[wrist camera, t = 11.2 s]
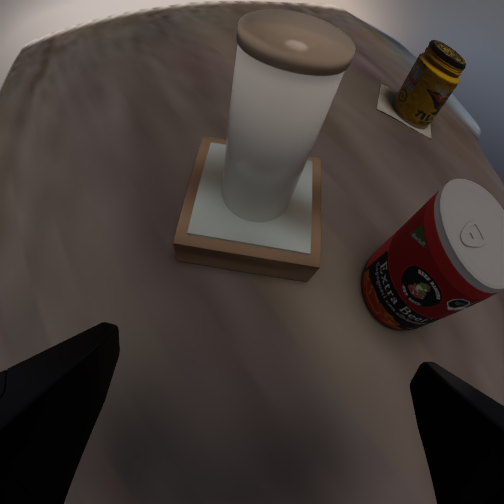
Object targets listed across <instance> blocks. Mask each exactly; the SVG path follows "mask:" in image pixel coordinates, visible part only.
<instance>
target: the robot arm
mask: <svg viewBox="0 0 504 504" xmlns="http://www.w3.org/2000/svg"><path fill="white" fill-rule="evenodd" d="M119 352H120V347H119V330H118V327H117V326H116V325H114V324H110V323H106V322H103V323H100V324H98V325H96V326H94V327H92V328H90V329H88V330H86V331H84V332H82V333H80V334H78V335H76V336H74V337H72V338H70V339H67V340H65V341H63V342H61V343H59V344H57V345H55V346H53V347H51V348H49V349H47V350H45V351H43V352H41V353H39V354H37V355H35V356H33V357H31V358H29V359H27V360H25V361H22V362H20V363H18V364H16V365H14V366H12V367H10V368H8V369H7V370H4V371H2V372H0V504H64V501H65V499H66V496H67V493H68V490H69V488H70V485H71V482H72V480H73V477H74V474H75V472H76V469H77V467H78V464H79V462H80V459H81V456H82V454H83V452H84V449H85V447H86V444H87V442H88V439H89V437H90V434H91V432H92V430H93V427H94V425H95V423H96V420H97V418H98V416H99V413H100V411H101V409H102V406H103V404H104V401H105V399H106V395H107V392H108V389H109V386H110V382H111V379H112V376H113V373H114V370H115V367H116V363H117V360H118V357H119ZM410 391H411V396H412V400H413V405H414V410H415V415H416V420H417V425H418V429H419V433H420V437H421V440H422V444H423V447H424V451H425V455H426V458H427V462H428V466H429V470H430V474H431V478H432V482H433V487H434V491H435V496H436V500H437V504H504V406H503V405H501V404H499V403H498V402H496V401H495V400H493V399H492V398H490V397H488V396H487V395H485V394H484V393H482V392H480V391H479V390H477V389H476V388H474V387H473V386H471V385H469V384H468V383H466V382H465V381H463V380H461V379H460V378H458V377H457V376H455V375H454V374H452V373H450V372H449V371H447V370H446V369H444V368H442V367H441V366H439V365H438V364H436V363H434V362H423V363H422V364H421V365H420V366H419V368H418V370H417V372H416V373H415V375H414V377H413V379H412V380H411V383H410Z"/></svg>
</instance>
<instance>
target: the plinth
mask: <svg viewBox="0 0 504 504" xmlns="http://www.w3.org/2000/svg"><path fill="white" fill-rule="evenodd" d="M225 150H226V140H223V139H217V138H210V137H203V139H202V142H201V145H200V148H199V152H198V155H197V158H196V162H195V165H194V168H193V172H192V175H191V179H190V182H189V186H188V189H187V193H186V196H185V200H184V203H183V207H182V211H181V215H180V218H179V222H178V226H177V230H176V234H175V238H174V242H173V245H174V250H175V255H176V260H177V261H182V262H188V263H194V264H199V265H205V266H211V267H217V268H223V269H229V270H235V271H241V272H247V273H254V274H260V275H266V276H272V277H279V278H285V279H292V280H298V281H305V282H307V281H308V280H309V279H310V278H311V277H312V276H313V275H314V274H315V272H316V271H317V270H318V269H319V268H320V245H321V158H316V157H312V156H309V158H308V160H307V162H306V165H305V167H304V169H303V172H302V174H301V176H300V179H299V181H298V184H297V186H296V188H295V191H294V193H293V195H292V197H291V200H290V202H289V204H288V207H287V208H286V210H285V211H284V213H283V214H281V215H280V216H279V217H277V218H276V219H274V220H271V221H267V222H251V221H247V220H244V219H242V218H240V217H238V216H236V215H235V214H233V213H232V212H231V211H230V210H229V209H228V208H227V206H226V205H225V203H224V201H223V198H222V181H223V170H224V160H225Z"/></svg>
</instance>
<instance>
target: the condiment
mask: <svg viewBox="0 0 504 504" xmlns="http://www.w3.org/2000/svg"><path fill="white" fill-rule="evenodd" d="M465 66H466V63H465V61H464V59H463V58H462V57H461V56H460V55H459V54H458V53H457V52H456V51H454V50H453V49H452V48H450V47H448V46H447V45H446V44H444V43H442V42H440V41H436V40H432V41H431V42H430V43H429V46H428V47H427V48H426V50H425V52H424V53H422V54H420V55H419V57H418V58H417V60H416V62H415V64H414V66H413V67H412V69H411V71H410V73H409V75H408V76H407V78H406V80H405V82H404V83H403V85H402V87H401V89H400V90H399V92H398V93H397V92H395V91H393V90H391V89H390V88H388V87H387V86H384V85H382V84H381V87H380V93H379V99H378V105H377V109H378V110H380V111H383V112H384V113H386V114H388V115H391V116H392V117H394V118H396V119H398V120H399V121H401V122H403V123H404V124H406V125H407V126H409V127H411V128H413V129H414V130H416V131H418V132H419V133H422V134H423V135H425V136H426V137H428V138H431V127H430V123H431V121H432V120H433V119H434V117H435V116H436V115H437V113H438V112H439V110H440V109H441V107H442V106H443V105H444V103H445V102H446V100H447V99H448V97H449V96H450V95H451V93H452V92H453V90H454V89H455V88H456V86H457V84H458V83H459V78H458V77H459V76H460V75H461V73H462V71H463V70H464V68H465ZM390 107H391V108H392V109H391V108H390ZM393 110H394V111H393Z"/></svg>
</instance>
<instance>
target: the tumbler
mask: <svg viewBox="0 0 504 504" xmlns="http://www.w3.org/2000/svg"><path fill="white" fill-rule="evenodd" d="M236 38H237V43H238V47H237V54H236V62H235V70H234V78H233V86H232V95H231V103H230V112H229V121H228V131H227V140H226V150H225V160H224V170H223V181H222V198H223V201H224V203H225V205H226V206H227V208H228V209H229V210H230V211H231V212H232V213H233V214H235V215H236V216H238V217H240V218H242V219H244V220H247V221H251V222H267V221H271V220H274V219H276V218H277V217H279V216H280V215H281V214H283V213H284V211H285V210H286V208H287V207H288V204H289V202H290V200H291V197H292V195H293V193H294V191H295V188H296V186H297V184H298V181H299V179H300V176H301V174H302V172H303V169H304V167H305V165H306V162H307V160H308V158H309V155H310V153H311V151H312V148H313V146H314V144H315V141H316V139H317V136H318V134H319V132H320V129H321V127H322V125H323V122H324V120H325V117H326V115H327V113H328V110H329V108H330V105H331V103H332V101H333V98H334V96H335V93H336V91H337V88H338V86H339V84H340V81H341V79H342V76H343V74H344V71H345V70H347V69H348V67H349V65H350V63H351V60H352V58H353V56H354V53H355V45H354V43H353V41H352V40H351V39H350V38H349V37H348V36H347V35H346V34H345V33H344V32H343V31H341V30H340V29H338V28H337V27H335V26H333V25H332V24H330V23H328V22H326V21H323V20H321V19H319V18H316V17H313V16H310V15H307V14H303V13H299V12H294V11H288V10H277V9H267V10H258V11H253V12H250V13H247V14H245V15H244V16H242V17H241V18H240V20H239V22H238V29H237V37H236Z"/></svg>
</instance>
